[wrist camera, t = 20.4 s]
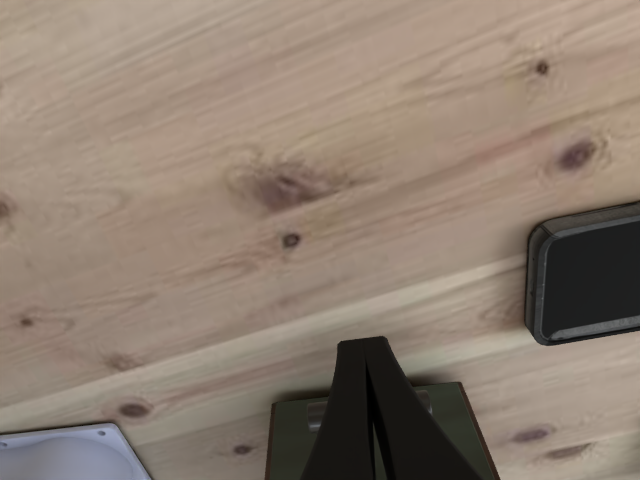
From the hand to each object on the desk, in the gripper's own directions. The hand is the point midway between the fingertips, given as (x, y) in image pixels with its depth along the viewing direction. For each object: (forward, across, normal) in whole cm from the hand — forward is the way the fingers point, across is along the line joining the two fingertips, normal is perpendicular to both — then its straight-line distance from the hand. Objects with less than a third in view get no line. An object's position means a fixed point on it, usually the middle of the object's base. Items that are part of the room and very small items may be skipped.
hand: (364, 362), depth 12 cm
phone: (+9, -17, +5) cm, 20 cm away
